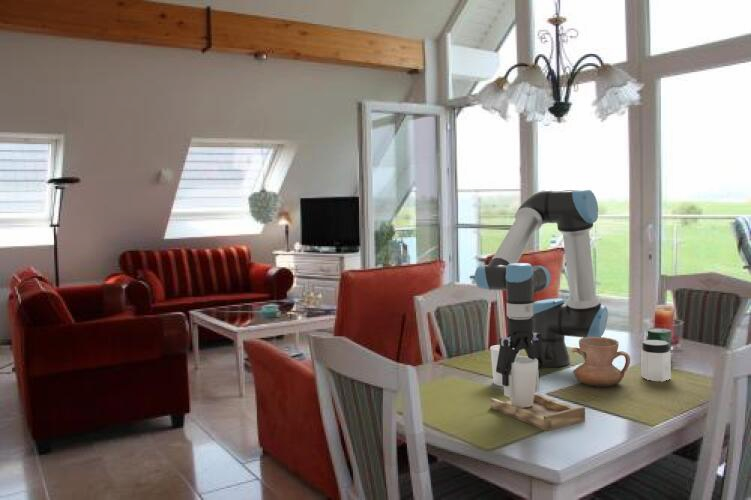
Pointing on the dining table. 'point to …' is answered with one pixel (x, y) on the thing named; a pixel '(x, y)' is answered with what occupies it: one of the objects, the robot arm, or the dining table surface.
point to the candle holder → (494, 356)
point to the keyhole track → (542, 412)
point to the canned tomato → (660, 335)
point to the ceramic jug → (599, 362)
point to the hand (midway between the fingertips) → (521, 393)
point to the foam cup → (523, 381)
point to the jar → (655, 360)
